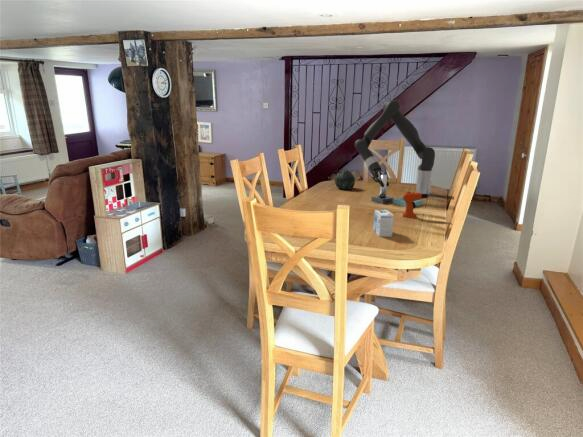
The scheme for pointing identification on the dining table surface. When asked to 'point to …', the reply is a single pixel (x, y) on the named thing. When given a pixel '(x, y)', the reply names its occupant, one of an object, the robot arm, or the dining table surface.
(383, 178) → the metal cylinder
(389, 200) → the socket block
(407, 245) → the dining table surface
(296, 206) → the dining table surface
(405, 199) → the toy drill
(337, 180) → the squash
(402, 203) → the block
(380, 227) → the light bulb box
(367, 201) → the dining table surface
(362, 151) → the robot arm
